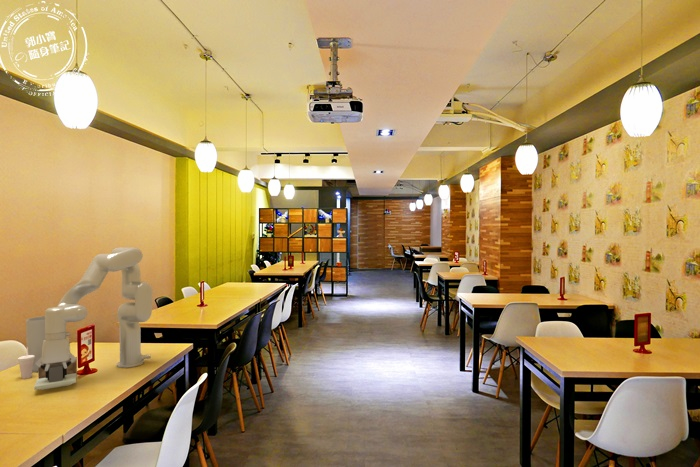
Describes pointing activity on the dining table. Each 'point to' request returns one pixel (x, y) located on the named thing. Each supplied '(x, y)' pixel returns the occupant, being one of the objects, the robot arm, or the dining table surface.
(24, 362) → the smoothie
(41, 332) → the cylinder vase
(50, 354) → the robot arm
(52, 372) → the lid
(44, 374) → the wooden box
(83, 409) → the dining table surface
